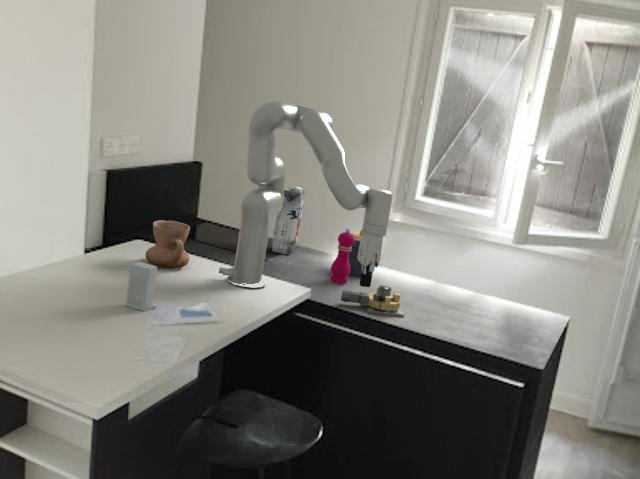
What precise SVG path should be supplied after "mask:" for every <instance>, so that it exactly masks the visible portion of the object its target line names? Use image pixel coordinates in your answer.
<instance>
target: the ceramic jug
mask: <svg viewBox="0 0 640 479" xmlns="http://www.w3.org/2000/svg"><path fill="white" fill-rule="evenodd" d="M190 229H191V226H190V225H188V224H186V223H183V222H179V221H175V220H167V221H166V220H163V219H162V220H155V221H154V222H152V230H153V236H154V239H155V243H156V244H155V245H153V246H151V247H150V248H148V249H147V250H146V252H145V259H146V261H147V262H148V263H149V264H150V265H153V266H157V268H163V269H170V270H173V269H179V268H180V269H181V268H183V267H186V266H187V265H189V262H190V255H189V254H188V252H187V251H186V250H185V249H184V245H185V242H186V240H187V239H188V236H189V234H190Z"/></svg>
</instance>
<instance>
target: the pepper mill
mask: <svg viewBox="0 0 640 479" xmlns="http://www.w3.org/2000/svg"><path fill="white" fill-rule="evenodd" d="M337 241H338V244H337V249H338V250H337V251H338V252H337V256H336V257H335V259H334V260H333V262H332V264H331V265H330V272H331V275H330V277H329V282H332V283H334V284H336V285H346V284H347V283H348V277H349V274H350V264H349V252H350V251H351V248H352V247H351V246H352V245H353V244H354V241H355V239H354V236H353V235H352V233H351V229H350V228H347V227H346V228H345V232H342V233H341V232H340V234H339V235H338V237H337Z"/></svg>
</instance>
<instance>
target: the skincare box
mask: <svg viewBox="0 0 640 479" xmlns="http://www.w3.org/2000/svg"><path fill="white" fill-rule="evenodd" d="M129 268H130V270H129V276H128V287H127V293H126V302H125V306H126V307H128V308H132V309H135V310H139V311H142V312H146V311H148V310H150V309H153V308H154V307H153V305H154V298H155V297H154V296H155V289H156V281H157V274H158V273H157V272H158V266H155V265H153V264H150V263H149V264H148V263H145V262H142V261H138V262H134V263H131V264H130V266H129Z"/></svg>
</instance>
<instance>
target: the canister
mask: <svg viewBox="0 0 640 479" xmlns="http://www.w3.org/2000/svg"><path fill="white" fill-rule="evenodd" d="M351 234H352V235H353V236H354V239H355V241H354V244H353V245H352V246H351V247H352V248H351V251H350V252H349V264H350V274H349V275H348V277H355V278H359V279H360V277H361V273H363V272H361V271H362V264H361V263H360V262H359V261H358V259H357V256H358V251H359V246H360V241H361V237H362V234H363V232H362V229H360V230H359V232H355V231H354V232H352V233H351Z"/></svg>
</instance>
